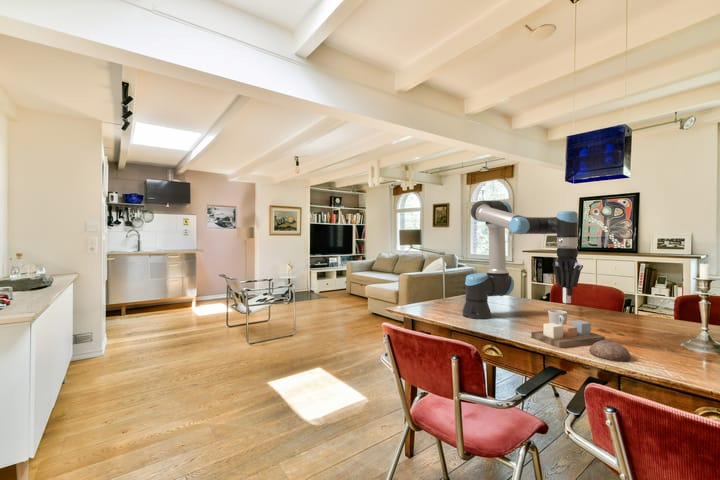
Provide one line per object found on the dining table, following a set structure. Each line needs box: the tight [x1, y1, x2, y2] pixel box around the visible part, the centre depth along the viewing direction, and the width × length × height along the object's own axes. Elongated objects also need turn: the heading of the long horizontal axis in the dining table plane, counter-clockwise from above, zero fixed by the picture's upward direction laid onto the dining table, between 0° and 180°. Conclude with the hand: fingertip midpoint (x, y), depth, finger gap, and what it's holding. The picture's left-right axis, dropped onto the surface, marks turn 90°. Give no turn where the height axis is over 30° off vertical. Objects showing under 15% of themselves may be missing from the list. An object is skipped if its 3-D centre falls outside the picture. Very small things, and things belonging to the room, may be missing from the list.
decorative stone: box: [588, 339, 631, 363], centre depth 118 cm, size 12×12×6 cm
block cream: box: [542, 322, 563, 339], centre depth 135 cm, size 5×5×5 cm
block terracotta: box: [561, 323, 577, 337], centre depth 137 cm, size 5×5×5 cm
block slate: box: [570, 319, 592, 335], centre depth 139 cm, size 5×5×5 cm
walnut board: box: [530, 330, 606, 349], centre depth 137 cm, size 14×24×2 cm, turn 106°
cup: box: [547, 309, 569, 325], centre depth 153 cm, size 11×8×8 cm
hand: (566, 302), depth 137 cm, fingers closed
